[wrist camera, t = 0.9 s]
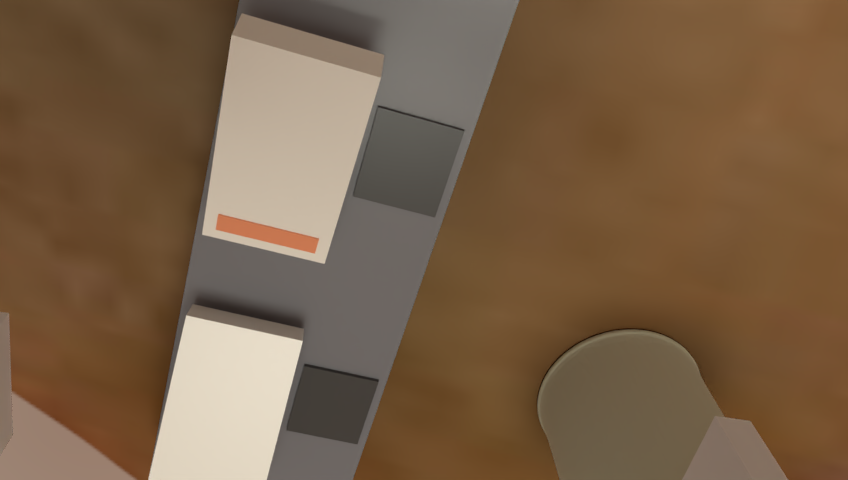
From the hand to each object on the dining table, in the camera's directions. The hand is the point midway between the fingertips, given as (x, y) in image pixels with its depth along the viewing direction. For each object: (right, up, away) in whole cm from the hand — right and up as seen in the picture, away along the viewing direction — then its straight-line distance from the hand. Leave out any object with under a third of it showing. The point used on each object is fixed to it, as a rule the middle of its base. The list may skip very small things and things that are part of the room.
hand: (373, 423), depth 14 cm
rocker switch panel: (-4, +6, +22) cm, 23 cm away
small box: (-8, -4, +20) cm, 22 cm away
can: (+12, -5, +28) cm, 31 cm away
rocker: (-4, +7, +14) cm, 16 cm away
